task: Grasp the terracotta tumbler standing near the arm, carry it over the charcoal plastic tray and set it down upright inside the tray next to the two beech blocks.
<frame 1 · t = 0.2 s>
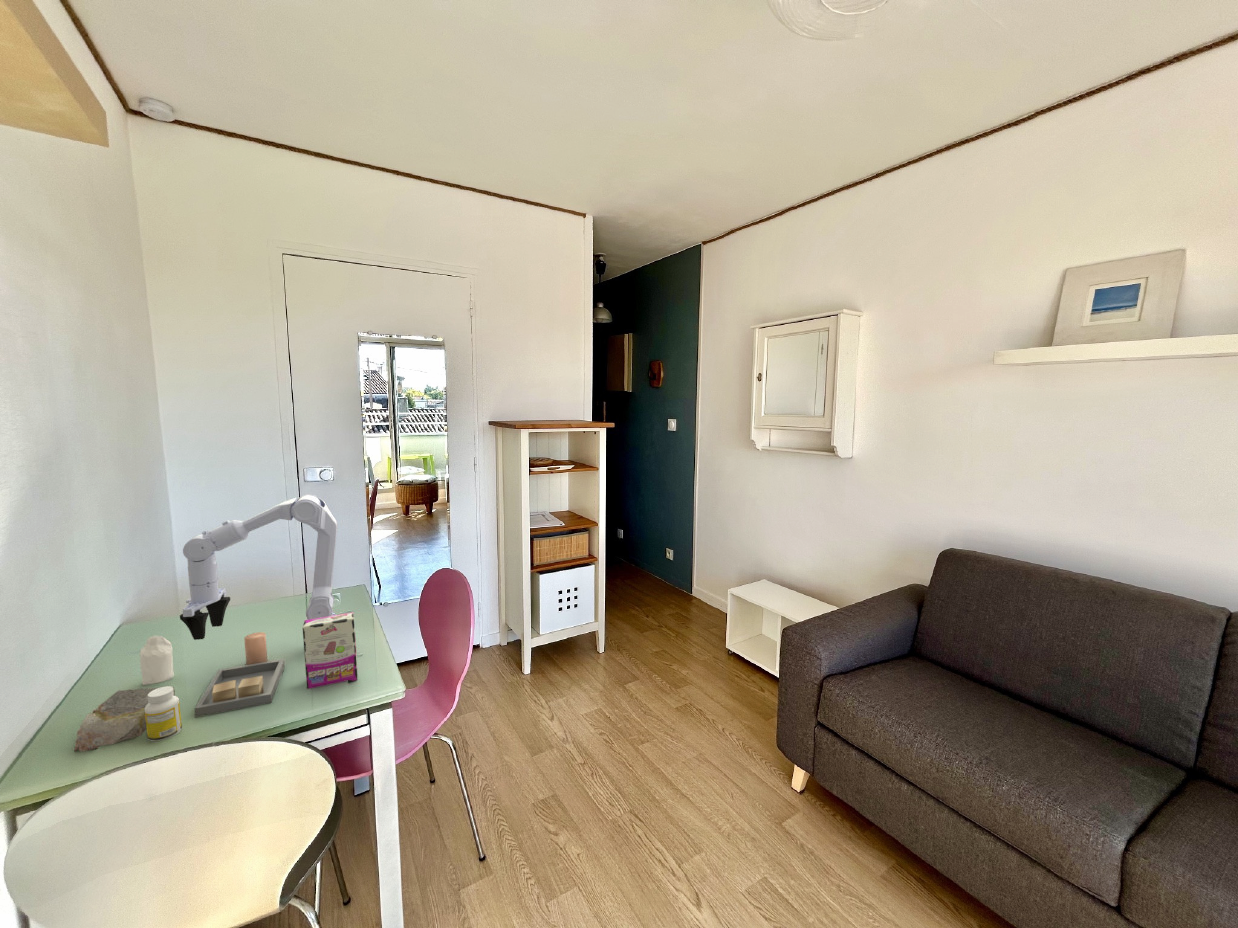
hand: (208, 632, 133), 10 cm above the table, fingers open, 7 cm apart
candy bar box: (332, 681, 128), on the table
beech block a: (251, 697, 120), point 1 cm above the table, touching tray
supplement bottle: (165, 735, 107), on the table
tumbler: (257, 664, 136), on the table
tray: (244, 691, 123), on the table
geological specimen: (129, 727, 110), on the table
roll: (158, 681, 128), on the table
beech block b: (225, 702, 118), point 1 cm above the table, touching tray
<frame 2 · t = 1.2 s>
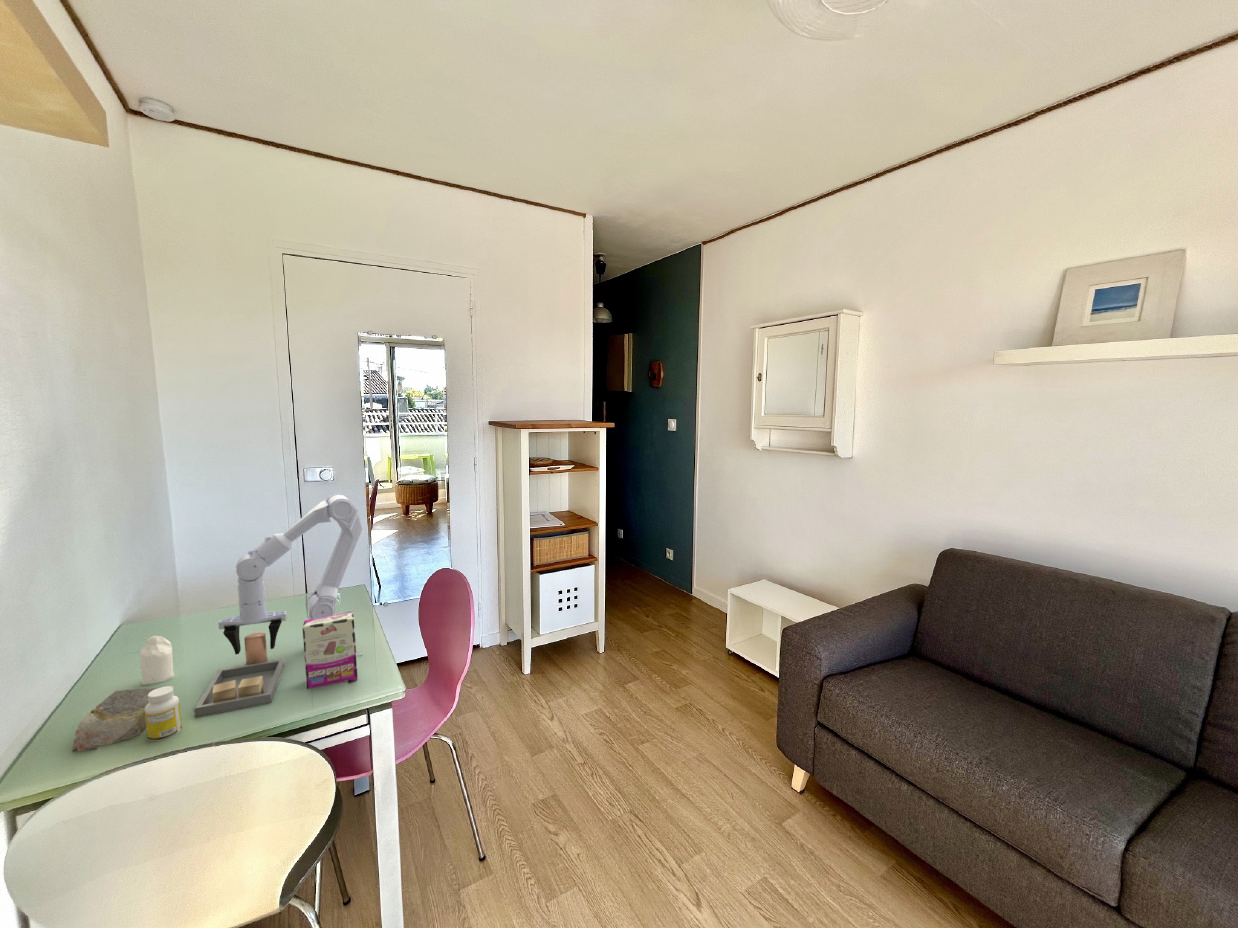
hand: (255, 649, 135), 4 cm above the table, fingers open, 7 cm apart
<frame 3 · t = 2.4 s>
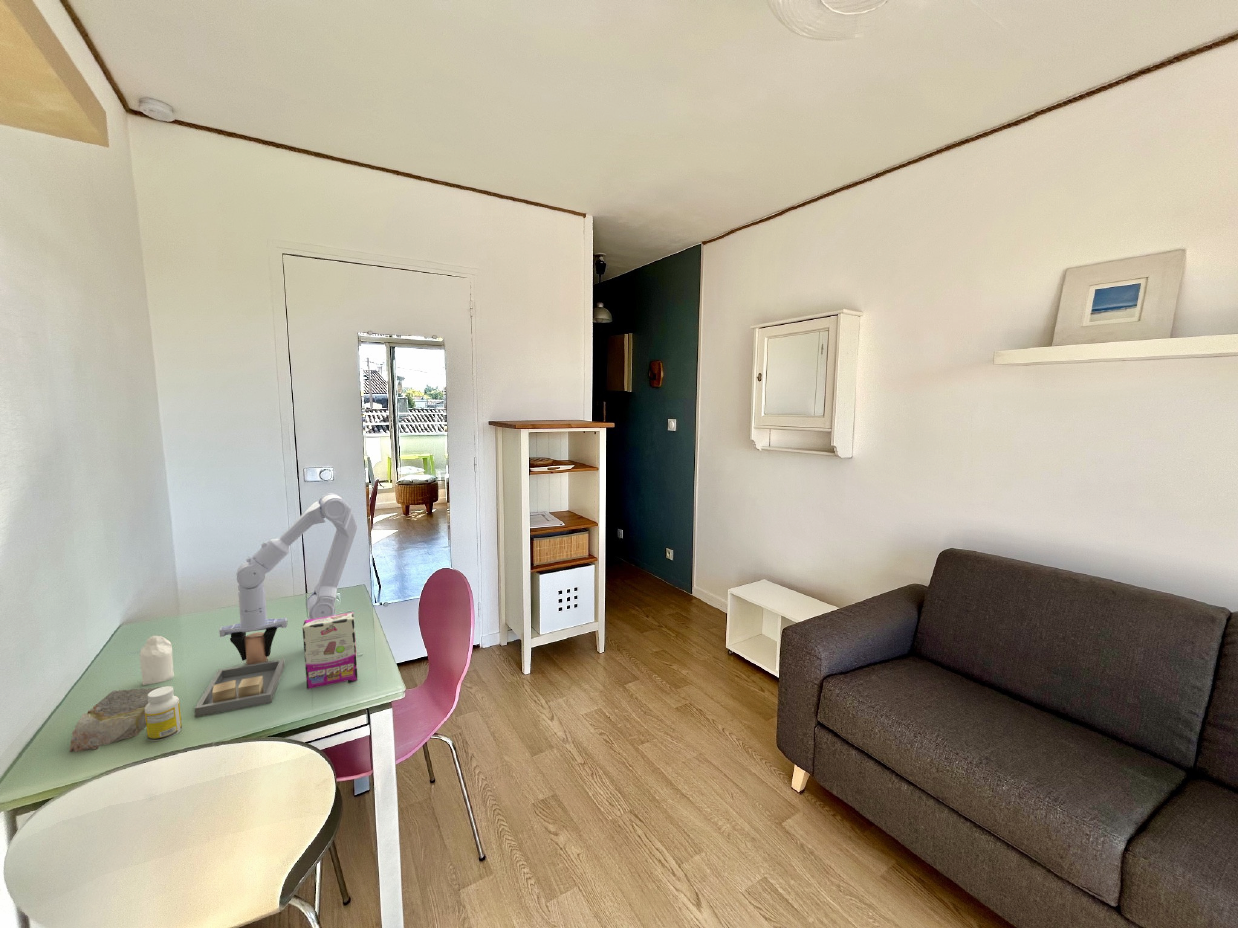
hand: (256, 656, 136), 2 cm above the table, fingers closed on tumbler, 5 cm apart
tumbler: (257, 664, 136), on the table, touching gripper
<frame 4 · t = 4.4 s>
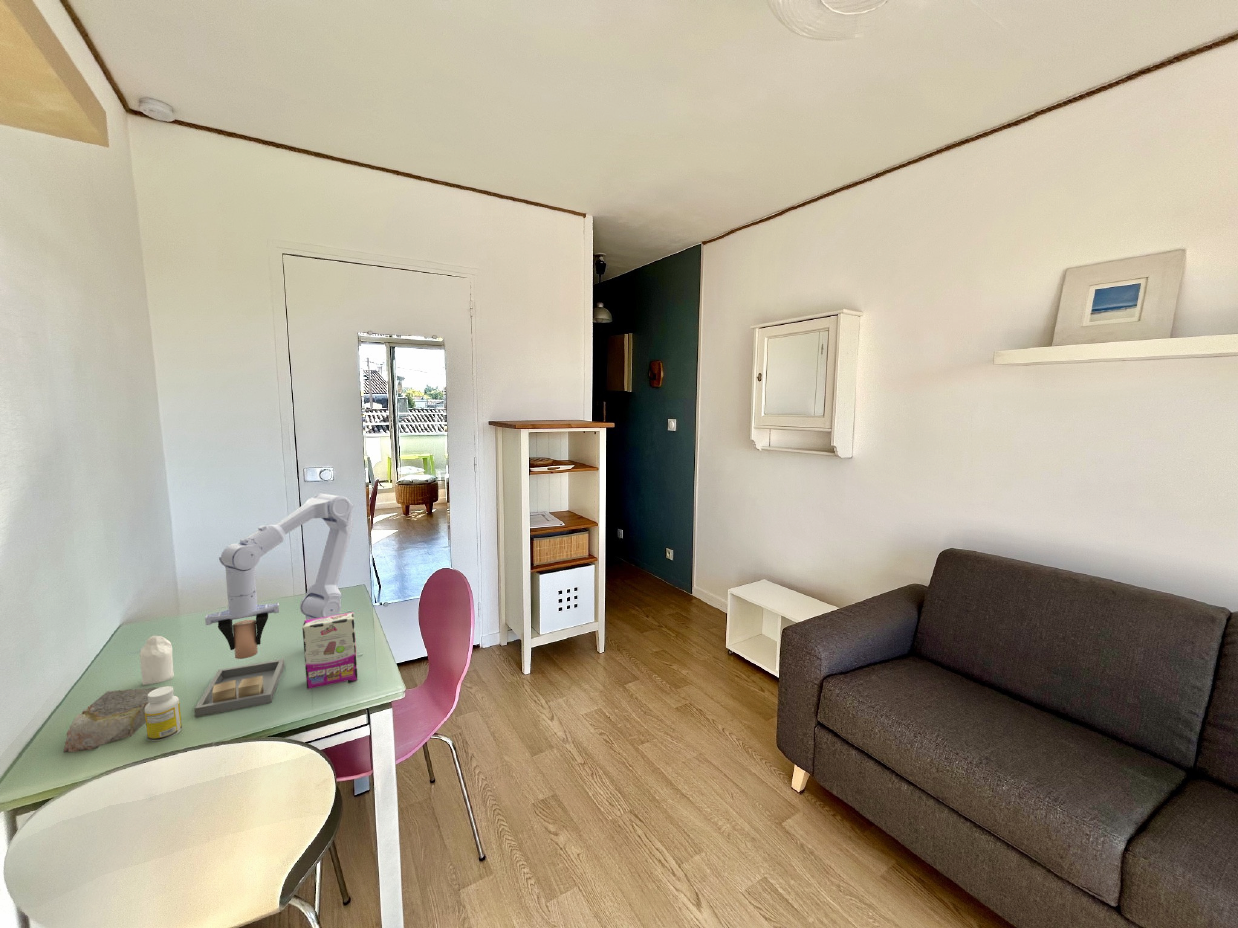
hand: (245, 645, 127), 9 cm above the table, fingers closed on tumbler, 5 cm apart
tumbler: (246, 654, 127), point 7 cm above the table, touching gripper
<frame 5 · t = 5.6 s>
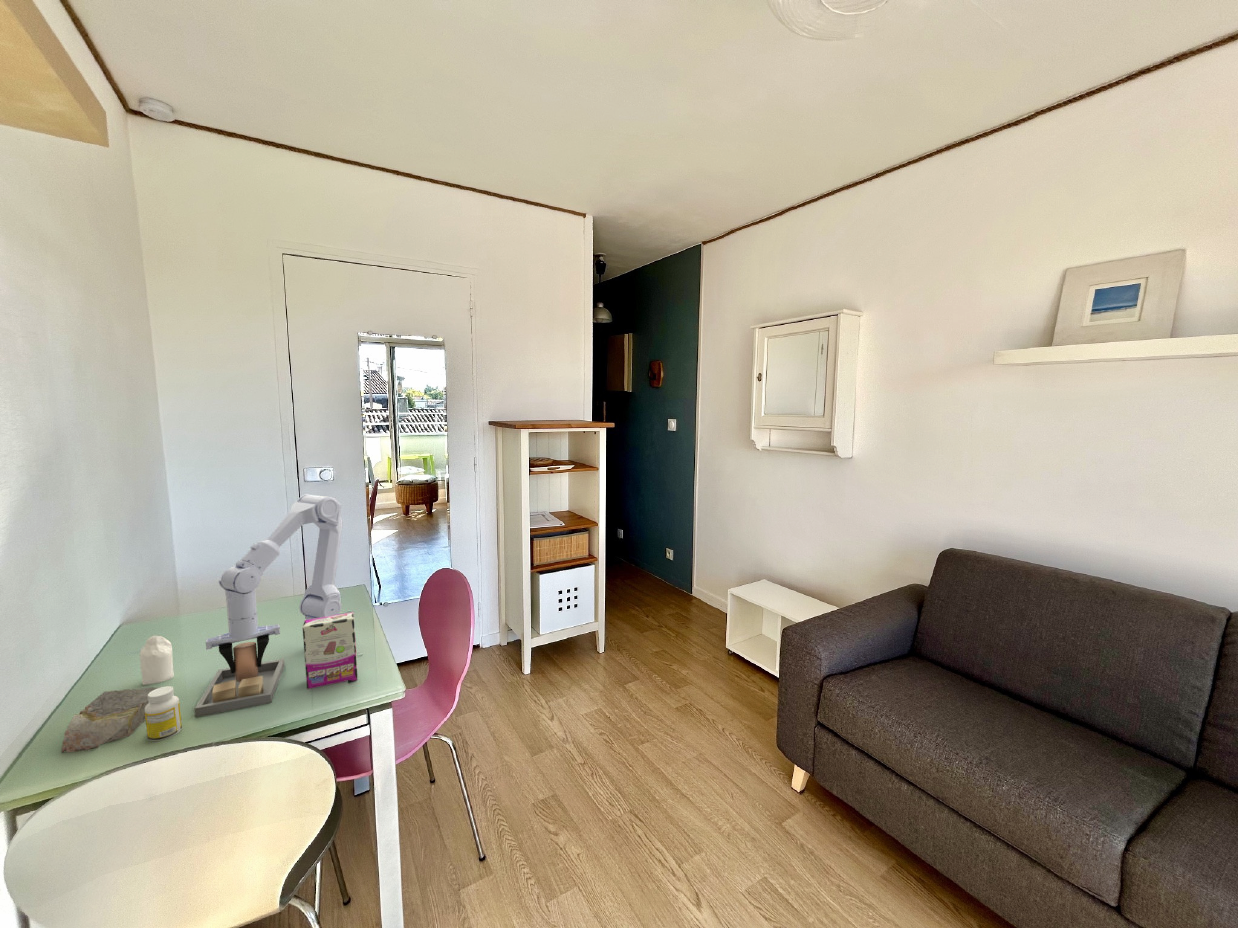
hand: (246, 668, 126), 4 cm above the table, fingers closed on tumbler, 5 cm apart
tumbler: (247, 677, 126), point 2 cm above the table, touching gripper
when the fingers open (4 cm above the table, at t = 6.4 s): tumbler drops 1 cm, resting on tray.
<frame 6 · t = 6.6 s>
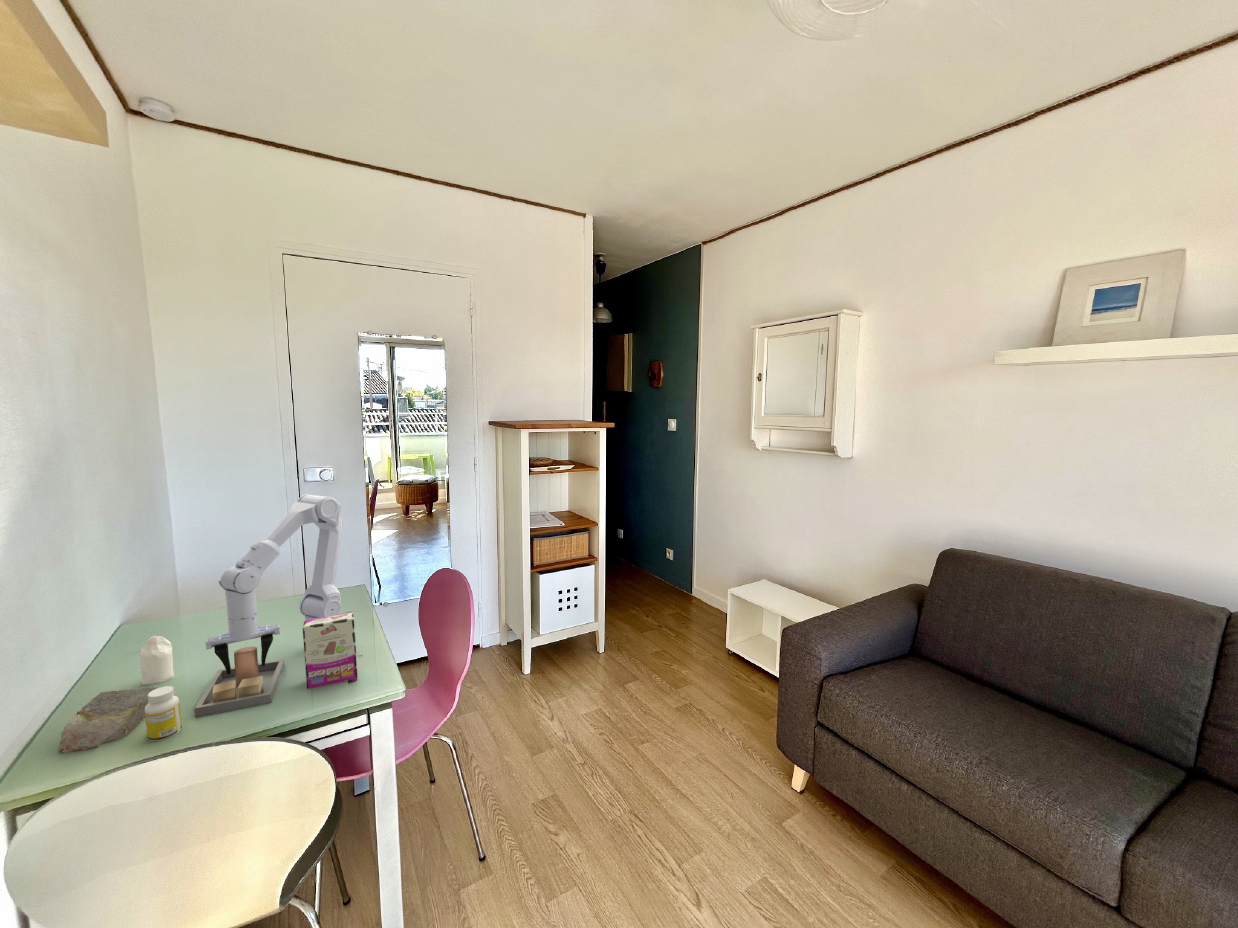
hand: (246, 668, 126), 4 cm above the table, fingers open, 6 cm apart
tumbler: (247, 681, 126), point 1 cm above the table, touching tray
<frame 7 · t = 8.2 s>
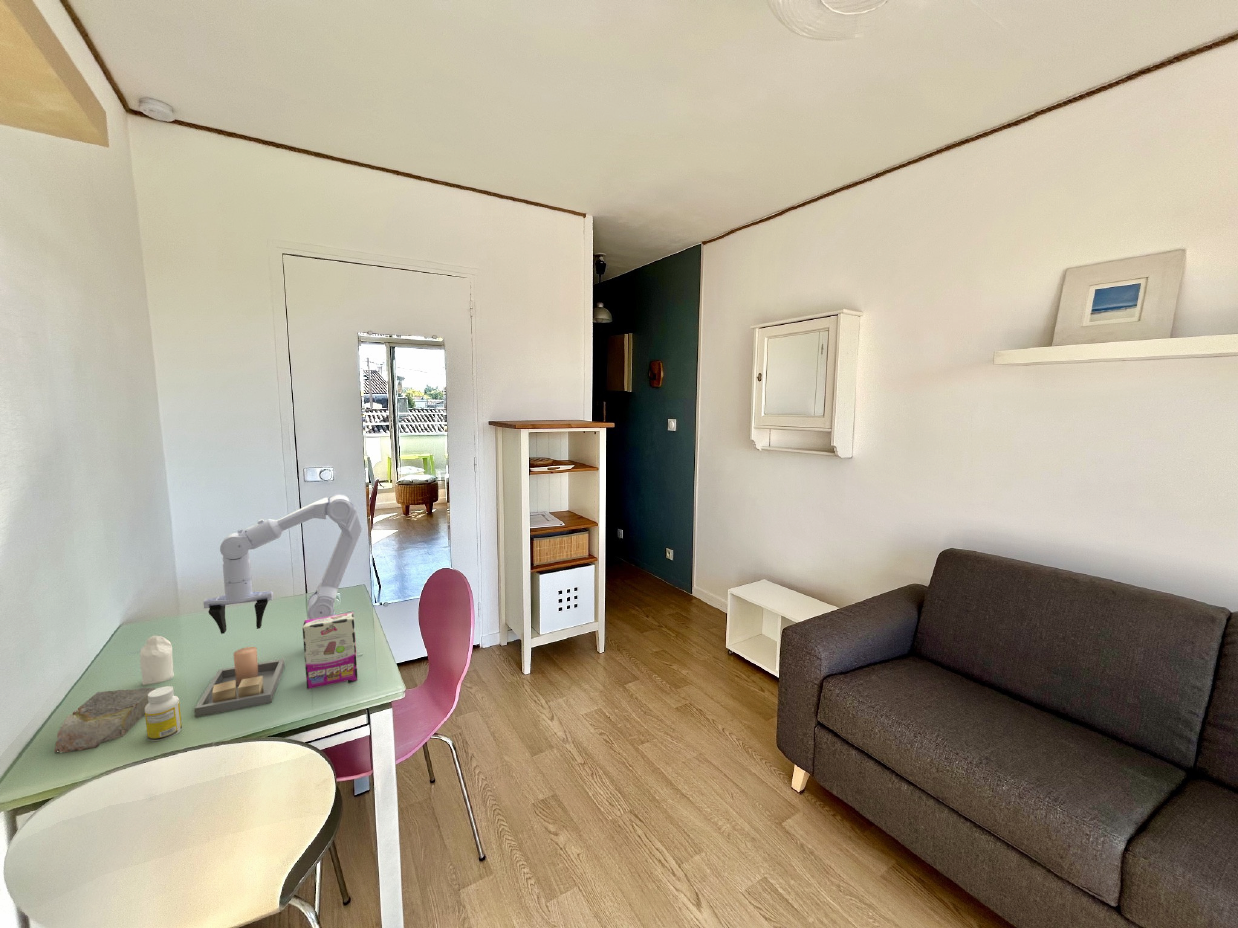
hand: (241, 629, 134), 10 cm above the table, fingers open, 7 cm apart
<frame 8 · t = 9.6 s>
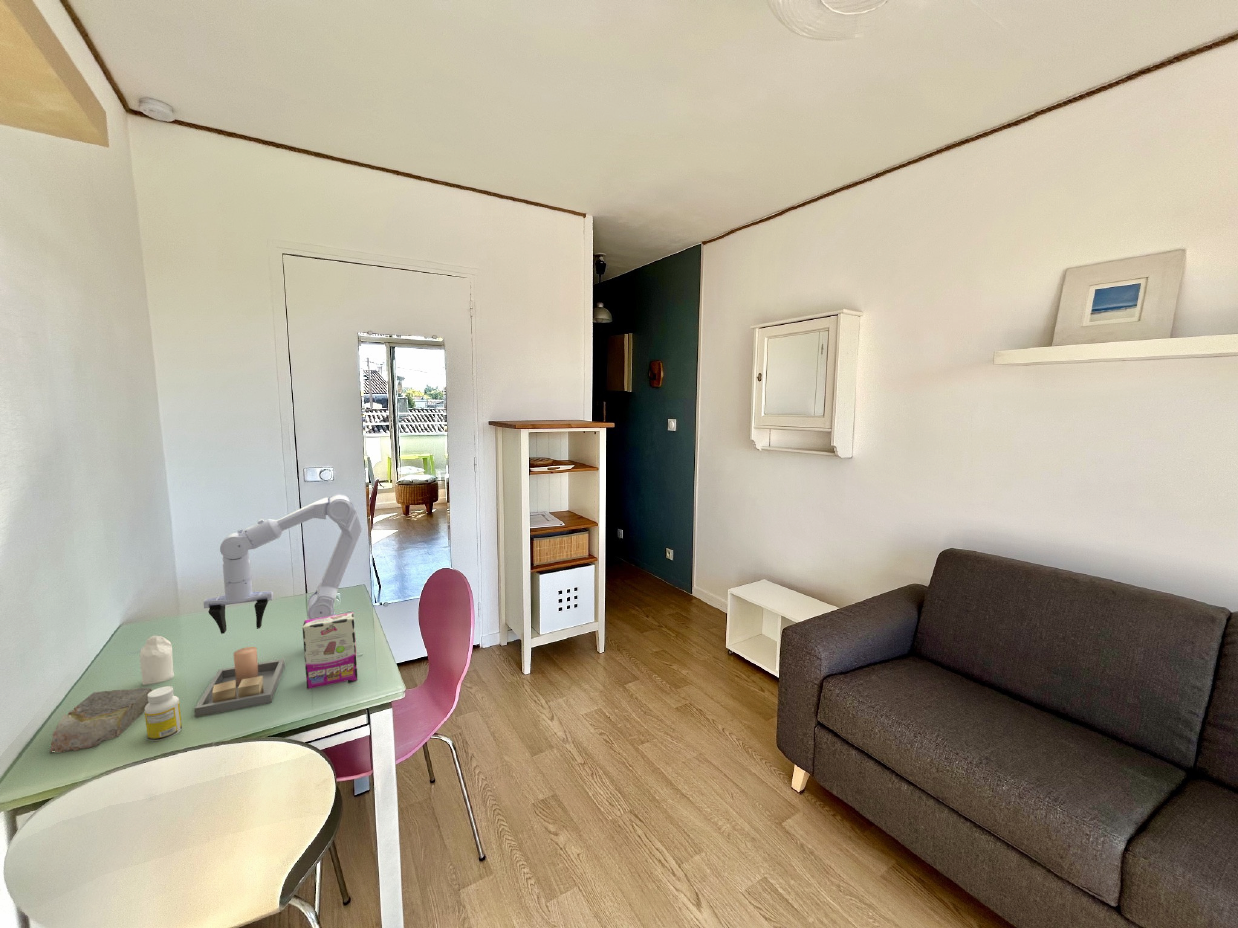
hand: (241, 629, 134), 10 cm above the table, fingers open, 7 cm apart
at the end: tumbler inside the target area on the tray (3.6 cm from its centre), point 0.6 cm above the tray's base; tumbler tilted 0°; the gripper is holding nothing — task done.
